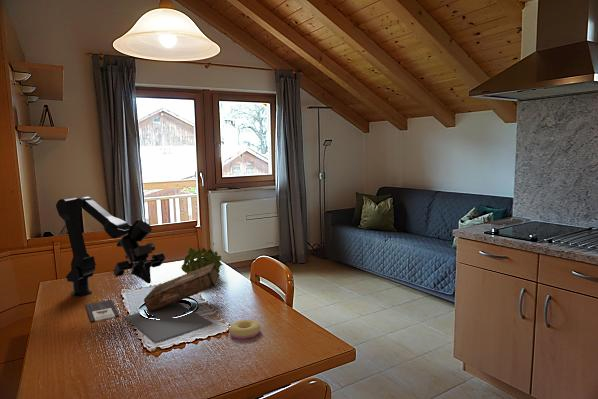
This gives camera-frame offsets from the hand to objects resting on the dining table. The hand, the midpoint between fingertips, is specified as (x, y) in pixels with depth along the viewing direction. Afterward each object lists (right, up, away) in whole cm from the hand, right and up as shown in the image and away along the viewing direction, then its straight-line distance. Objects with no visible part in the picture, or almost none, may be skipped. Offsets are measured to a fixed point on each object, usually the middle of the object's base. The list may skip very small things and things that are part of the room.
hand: (149, 282), depth 152 cm
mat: (+10, -11, -11) cm, 18 cm away
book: (0, -7, +2) cm, 7 cm away
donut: (+38, -12, -20) cm, 45 cm away
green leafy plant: (+12, -6, +33) cm, 35 cm away
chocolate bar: (-17, -11, -2) cm, 20 cm away
